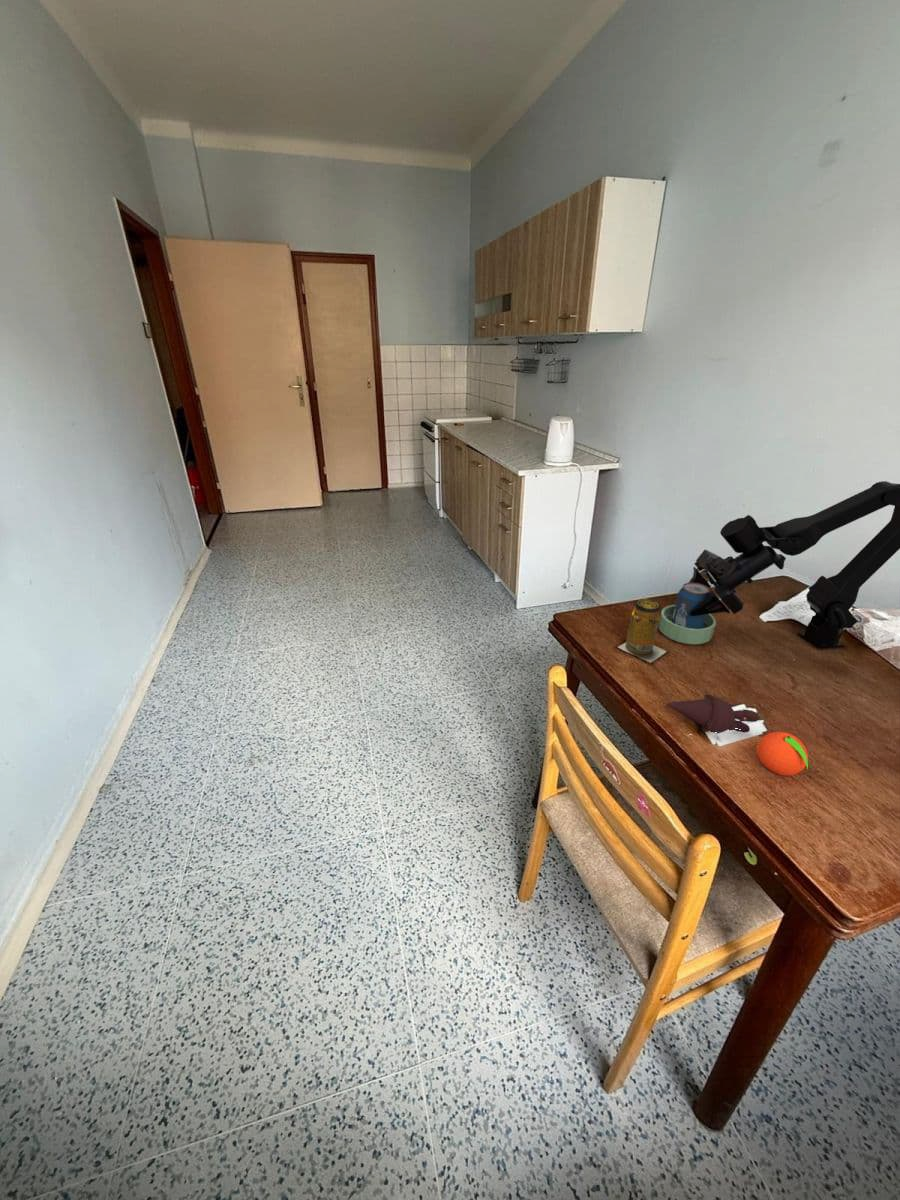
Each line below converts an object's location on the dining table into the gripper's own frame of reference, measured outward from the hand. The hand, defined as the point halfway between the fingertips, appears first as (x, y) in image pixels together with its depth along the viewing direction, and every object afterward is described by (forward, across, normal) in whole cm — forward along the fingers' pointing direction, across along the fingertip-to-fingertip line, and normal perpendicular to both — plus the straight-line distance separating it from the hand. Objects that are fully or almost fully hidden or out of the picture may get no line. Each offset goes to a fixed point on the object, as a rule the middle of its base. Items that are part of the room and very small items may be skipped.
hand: (684, 605), depth 114 cm
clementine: (+2, +44, +9) cm, 45 cm away
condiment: (+13, +9, -2) cm, 16 cm away
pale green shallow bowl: (+4, 0, +6) cm, 8 cm away
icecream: (+8, +34, +3) cm, 36 cm away
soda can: (+4, 0, +6) cm, 8 cm away
